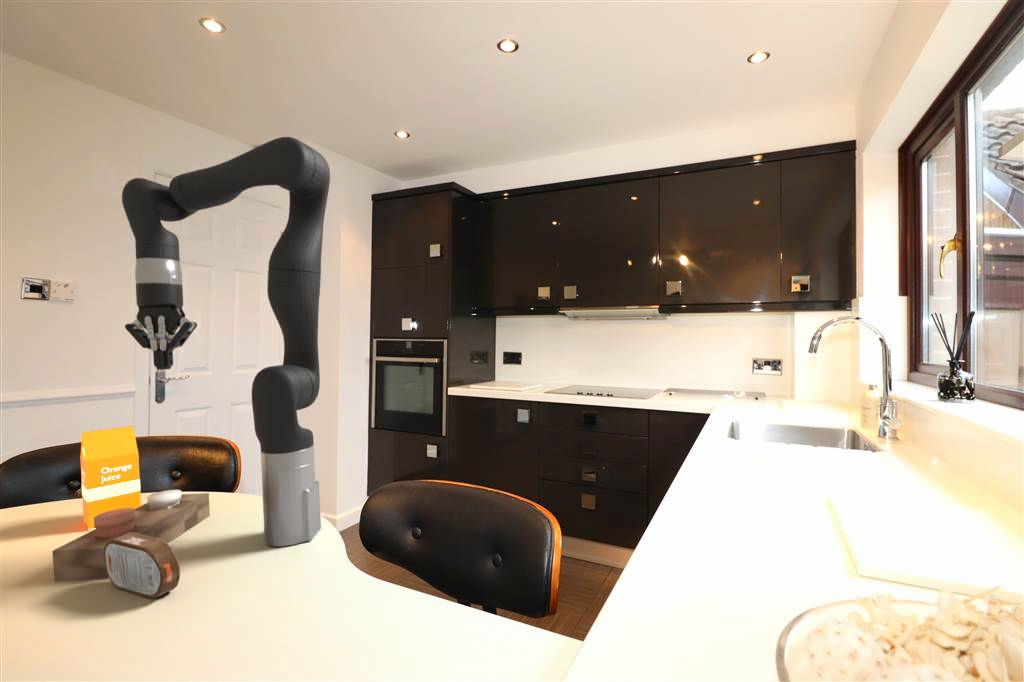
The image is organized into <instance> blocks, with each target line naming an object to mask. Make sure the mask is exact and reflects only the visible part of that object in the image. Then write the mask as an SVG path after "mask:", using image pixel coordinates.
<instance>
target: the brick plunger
mask: <svg viewBox="0 0 1024 682" xmlns="http://www.w3.org/2000/svg"><path fill="white" fill-rule="evenodd" d="M135 518H136V517H135V509H134V508H121V509H116V510H111V511H107V512H104V513H101V514H99V515H97V516H95V517H94V528H96V531H97V538H105V537H119V536H121V535H123V534H125V533H127V532H128V531H130V530H132V529H134V519H135Z"/></svg>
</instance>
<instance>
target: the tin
mask: <svg viewBox="0 0 1024 682" xmlns="http://www.w3.org/2000/svg"><path fill="white" fill-rule="evenodd" d="M169 544H170V543H168V544H167V543H166V542H165V541H164V540H162V539H158V538H154V537H150V536H145V535H141V534H137V533H133V532H127V533H125V534H123V535H121V536H119V537H117V538H114V539H112V540H110V541H109V542H108V543H107V544H106V545H105V547H104V559H105V565H106V573H107V575H108V577H109V578H108V580H110V582H111V583H112V584H113V586H115V587H116V588H118V589H119V590H122V591H125V592H128V593H131V594H135V595H137V596H142V597H143V598H147V599H156V598H158V597H159V598H160V597H161V596H163V595H165V594H166V593H168V592H171V591H173V590H174V589H176V588H177V587H178V585H179V582H180V579H181V578H180V577H181V569H180V564H179V559H178V557H177V555H176V553H175V551H174V549H173V548H172V547H171V546H170V545H169Z"/></svg>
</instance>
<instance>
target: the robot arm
mask: <svg viewBox="0 0 1024 682" xmlns="http://www.w3.org/2000/svg"><path fill="white" fill-rule="evenodd" d="M330 182H331V170H330V166H329V164H328V161H327V160H326V158H325V157H324V155H323V154H321V153H320V152H319V151H317V150H315V149H314V148H312V147H311V146H309V145H307V144H306V143H305V142H303V141H301V140H299V139H298V138H295V137H291V136H281V137H278V138H274V139H272V140H270V141H267V142H265V143H263V144H261V145H258V146H257V147H255V148H253V149H251V150H249V151H246V152H244V153H241V154H240V155H237V156H236V157H235V156H234V158H231V159H228V160H227V161H224V162H221V163H219V164H216V165H215V164H214V165H213V166H209V167H205V168H201V169H197V170H193V171H189V172H184V173H181V174H179V175H176V176H175V177H173V178H172V179H171V180H170V182H169V186H168V185H165V184H161V183H158V182H156V181H152V180H150V179H147V178H142V177H135V178H132V179H130V180H129V181H127V182H126V183H125V185H124V186H123V188H122V192H121V202H122V207H123V211H124V213H125V216H126V218H127V221H128V223H129V227H130V229H131V232H132V234H133V237H134V241H135V243H134V244H135V266H134V267H135V268H134V269H135V271H134V275H135V298H136V299H135V300H136V305H137V307H138V311H137V313H136V319H134V321H132V322H131V323H126V324H125V325H124V329H125V330H127V332H128V334H130V336H131V337H132V338H133V339H134V340H135V341H136V343H138V344H139V345H140V346H141V348H142V349H148V350H151V351H152V352H153V353H152V355H153V366H154V367H155V368H156V370H157V371H162V370H163V371H165V370H171V368H172V367H173V366H174V353H173V351H174V350H175V349H177V348H181V347H184V346H183V345H184V344H185V343H186V341H187V340H188V339H189V338H190V336H191V334H193V332H194V331H195V329H196V328H197V327H198V323H197V322H195V321H191V320H189V319H188V318H186V313H185V311H184V310H183V306H184V288H183V286H184V285H183V272H182V268H181V258H180V256H181V255H180V241H179V238H178V236H177V235H176V234H175V233H173V232H171V231H170V230H169V229H167V228H165V227H164V226H163V223H162V222H170V223H171V222H179V221H183V220H185V219H187V218H190V216H192V215H194V214H196V213H197V212H199V211H202V210H206V209H211V208H215V207H220V206H222V205H225V204H228V203H230V202H232V201H233V200H235V199H236V198H238V196H240V195H241V194H242V193H243V192H245V191H246V190H249V189H252V188H256V187H266V186H277V187H280V188H281V189H284V190H287V191H288V193H289V208H288V210H289V211H288V219H287V222H286V226H285V228H284V230H283V232H282V234H281V235H280V237H279V239H278V240H277V242H276V244H275V245H274V247H273V249H272V251H271V254H270V257H269V261H268V268H267V269H268V270H267V299H268V301H269V305H270V308H271V310H272V312H273V315H274V317H275V318H276V321H277V323H278V324H279V327H280V329H281V334H282V338H283V362H282V364H280V365H272V366H268V367H267V366H266V367H264V368H262V369H260V370H259V371H258V372H257V373H256V375H255V376H254V379H253V381H252V385H251V405H252V413H253V414H252V415H253V423H254V432H255V436H256V438H257V440H258V442H259V444H260V445H259V446H260V462H261V463H260V465H261V485H262V509H263V511H262V512H263V533H264V543H265V544H266V545H268V546H270V547H287V546H293V545H297V544H300V543H303V542H310V541H311V540H313V538H314V537H315V536H316V535H317V534H318V532H319V531H320V530H321V528H322V525H321V524H322V523H321V522H322V521H321V520H322V519H321V518H322V517H321V501H320V500H321V498H320V497H321V495H320V482H319V481H318V480H316V471H315V470H316V469H315V450H314V449H315V448H314V443H315V442H314V432H313V431H312V430H311V429H309V428H305V427H302V426H301V425H300V423H299V419H298V412H297V411H301V410H304V409H307V408H308V407H310V406H312V405H313V404H314V403H315V401H316V400H317V398H318V396H319V393H320V392H319V391H320V388H321V387H320V385H321V382H320V381H321V378H320V377H321V376H320V374H321V373H320V360H319V358H320V357H319V338H318V337H319V312H320V311H319V310H320V309H319V308H320V294H321V281H322V278H321V277H322V249H323V248H322V247H323V239H324V237H323V236H324V223H325V215H326V214H325V213H326V209H327V202H328V196H329V191H330V185H331V183H330ZM161 221H162V222H161ZM178 329H179V330H178ZM145 330H146V331H145Z"/></svg>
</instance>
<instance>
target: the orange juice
mask: <svg viewBox="0 0 1024 682" xmlns="http://www.w3.org/2000/svg"><path fill="white" fill-rule="evenodd" d="M80 441H81V442H80V444H81V446H80V456H79V457H80V471H81V473H80V475H81V484H80V485H81V496H82V512H83V513H82V514H83V515H82V516H83V522H84V521H85V523H86V525H87V526H88V528H89V529H91V528H94V517H95V516H97V515H99V514H101V513H104V512H107V511H111V510H116V509H121V508H134V509H136V508H138V507H140V506H142V503H141V502H142V501H141V500H142V499H141V498H142V497H141V479H140V478H141V477H140V461H139V450H138V446H137V445H138V444H137V440H136V435H135V429H134V425H128V426H127V425H126V426H121V427H114V428H112V427H111V428H107V429H105V428H104V429H99V430H91V431H85V432H81V440H80ZM85 523H84V524H85ZM86 525H85V526H86ZM88 528H87V529H88Z"/></svg>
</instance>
